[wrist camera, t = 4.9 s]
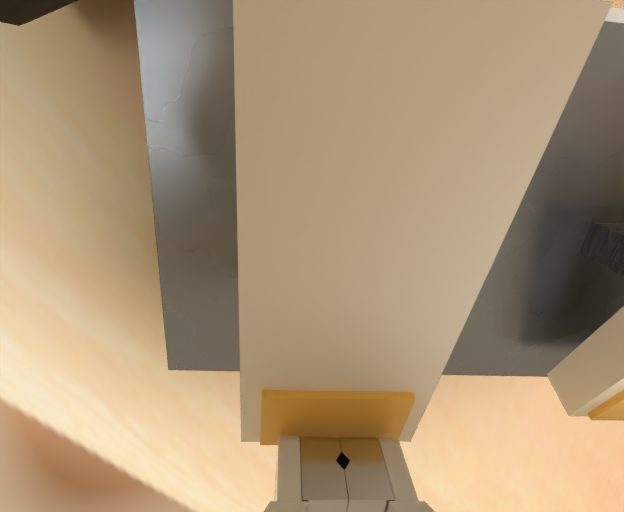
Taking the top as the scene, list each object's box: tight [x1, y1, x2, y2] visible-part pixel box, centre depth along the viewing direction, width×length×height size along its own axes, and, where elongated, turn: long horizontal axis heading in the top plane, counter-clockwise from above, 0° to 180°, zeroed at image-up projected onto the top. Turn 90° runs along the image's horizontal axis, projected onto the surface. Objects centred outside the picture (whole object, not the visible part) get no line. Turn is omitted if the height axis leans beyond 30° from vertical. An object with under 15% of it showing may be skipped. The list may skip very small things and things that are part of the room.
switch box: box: [134, 0, 624, 377], centre depth 12 cm, size 11×20×7 cm, turn 85°
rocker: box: [233, 0, 613, 445], centre depth 8 cm, size 10×5×2 cm, turn 175°
